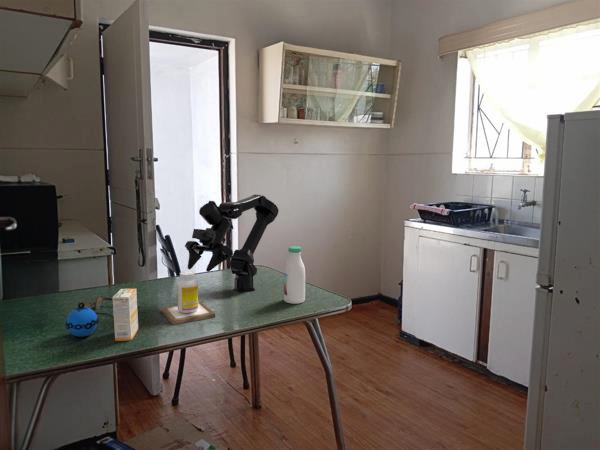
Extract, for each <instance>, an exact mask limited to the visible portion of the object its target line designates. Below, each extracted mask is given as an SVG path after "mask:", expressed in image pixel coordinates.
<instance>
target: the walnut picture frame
mask: <svg viewBox="0 0 600 450" xmlns="http://www.w3.org/2000/svg"><path fill="white" fill-rule="evenodd" d="M160 312H161V313H162V315H163V316H164V317H165V318H166V319H167V320H168V321H169V323H171V325H173V326H174V325H179V324H184V323H185V324H186V323H191V322H195V321H201V320H207V319H212V318H216V313H215V312H214V311H213V310H212V309H211V308H209V307H208V306H207V305H206V304H204V303H203V301H198V310H197V311H195V312H192V313H181V312H179V311H178V305H173V306H167V307H160Z"/></svg>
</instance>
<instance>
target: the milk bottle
mask: <svg viewBox="0 0 600 450" xmlns="http://www.w3.org/2000/svg"><path fill="white" fill-rule="evenodd" d="M287 250H288V253H287V254H288V258H287V260H286V263H285V266H284V270H283V301H284V302H285V303H288V304H293V305H297V304H298V305H299V304H301V303H304V302H305V300H306V268H305V264H304V262H303V260H302V257H301V254H302V247H301V246H297V245H292V246H288V249H287Z"/></svg>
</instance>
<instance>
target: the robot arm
mask: <svg viewBox="0 0 600 450" xmlns="http://www.w3.org/2000/svg"><path fill="white" fill-rule="evenodd" d="M251 209H253V210H254V211H255V218H256V219H255V222H254V224H253V226H252V228H251V230H250V232H249V234H248V236H247V238H246V240H245V242H244V244H243V246H242V248H241V249H234V251H233V249H232V248H231V247H230V246H229V245H228V244H227V243H225V242H226V238H225V236H226V235H227V232H228V231H229V230H234V226H233V221H230V220H237V219H238V218H239V217H241V216H242V214H243V213H244V212H246V211H249V210H251ZM198 214H199V216H201V218H202V219H203V220H204V221H205V222H206V223H207V224H208V225H209V226H210V227H206V228H205V229H203V228H202V229H201V228H193V232H192V236H191V238H192V239H196V240H198V241H195V240H188V241H186V242H185V245H184V247H185V248H186V250H187V251H188V260H187V261H188V262H187V267H186V268H187V270H188V271H190V270H191V269H193V267H194V266H195V265H196V264H197V262H198V261H199V260H200V259H201V258H202V255H203V254H204V252H210V253H211V255H212V256H211V257H210V260H209V262H208V264H207V265H206V266H207V267H206V269H205V271H206V272H207V273H209V272H210V271H212V270H213V269H215V268H216V267H218V265H220V264H222V263H224V261H228V259H230V260H229V266H230V267H229V268H230V271H231V274H233V275H235V277H234V279H233V280H234V281H233V282H234V283H233V284H234V287H233V289H234V290H236V291H237V292H239V293H245V292H252V291H255V290H256V288H255V287H254V277H255V276H256V275H257V272H258V268H257V267H256V265H254V262H255V259H254V253H255V251H256V249H257V248H258V245H259V244H260V241H261V239H262V237H263V235H264V233H265V231H266V229H267V226H268V225H270V224H271V223H273V222H274V221H275V220H276V218H277V217H278V215H279V207H278V206H277V205H276V204H275V202H273V201H272V200H269V199H268V198H267V197H266V196H265V195H263V194H252V195H251V196H248V197H246V198H243V199H240V200H237V201H234V202H233V201H227V202H221V203H220V204H219V205H218V204H217V203H216V202H215V200H208V202H207V203H205V204H203V205H202V206H201V207H200V208H199V209H198ZM228 219H230V220H228Z"/></svg>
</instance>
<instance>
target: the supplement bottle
mask: <svg viewBox="0 0 600 450" xmlns="http://www.w3.org/2000/svg"><path fill="white" fill-rule="evenodd" d="M179 277H180V279H179V280H178V281H177V283H176V288H177V290H176V292H177V295H176V298H177V306H178V311H179V312H181V313H192V312H195V311H197V310H198V302H199V287H198V286H199V284H198V283H199V282H198V281H197V279H196V278H195V272H194V271H190V270H185V271H181V272H179Z"/></svg>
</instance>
